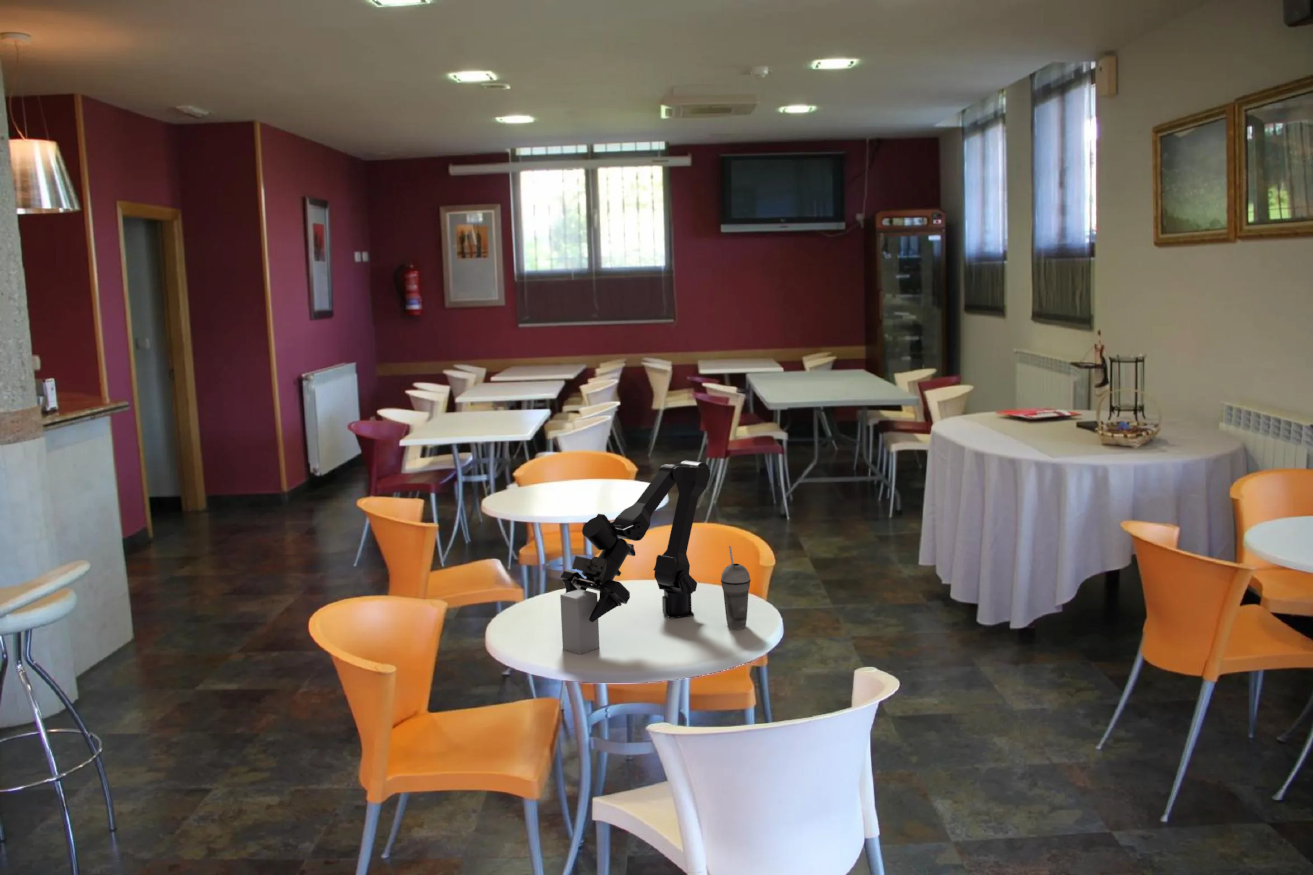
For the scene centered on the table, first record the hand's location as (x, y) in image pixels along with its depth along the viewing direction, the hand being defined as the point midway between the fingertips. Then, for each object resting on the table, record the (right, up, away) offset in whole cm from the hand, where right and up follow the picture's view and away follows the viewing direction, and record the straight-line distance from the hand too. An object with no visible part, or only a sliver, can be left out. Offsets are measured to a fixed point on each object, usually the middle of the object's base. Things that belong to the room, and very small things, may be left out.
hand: (576, 617), depth 249 cm
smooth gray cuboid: (+1, -7, +2) cm, 8 cm away
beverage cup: (+38, -5, +14) cm, 41 cm away
